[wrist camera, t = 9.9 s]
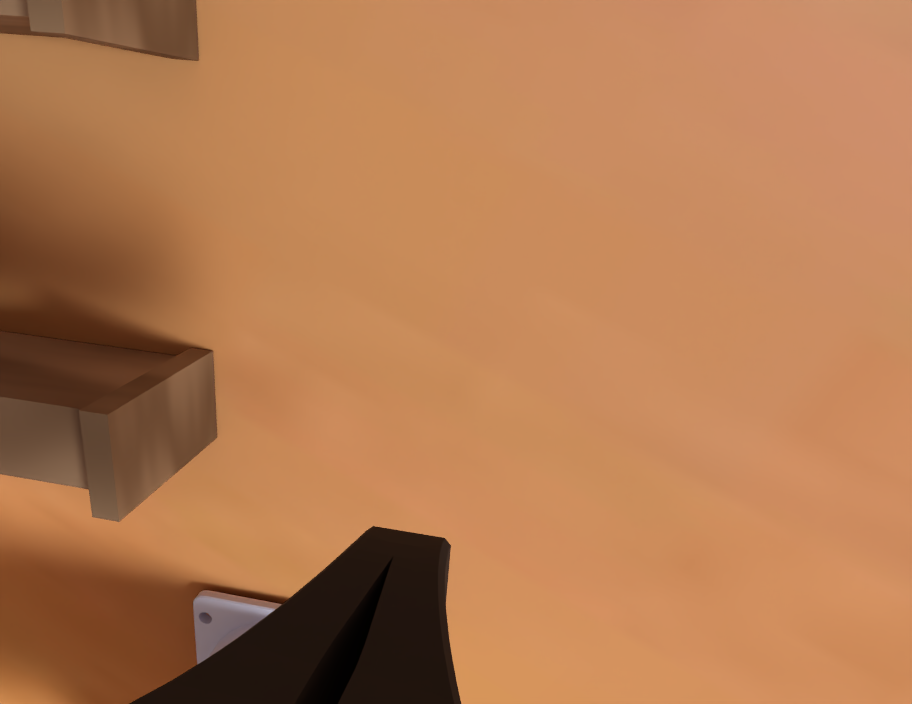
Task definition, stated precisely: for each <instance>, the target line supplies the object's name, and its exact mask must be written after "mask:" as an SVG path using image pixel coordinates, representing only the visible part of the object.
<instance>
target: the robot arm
mask: <svg viewBox="0 0 912 704" xmlns="http://www.w3.org/2000/svg"><path fill="white" fill-rule="evenodd" d="M450 548H451V545H450V544H449V543H448V541H447V540H446V539H445V538H441V537H435V536H429V535H423V534H417V533H411V532H405V531H399V530H393V529H387V528H381V527H375V526H373V527H371V528H370V529H368V530H367V531H366V532H365V533H364V534H362V535H361V536H360V537H359V538H358V539H357V540H356V541H355V542H354V543H353V544H352V545H351V546H349V547H348V548H347V549H346V550H345V551H344V552H343V553H342V554H341V555H340V556H338V557H337V558H336V559H335V560H334V561H333V562H332V563H331V564H329V565H328V566H327V567H326V568H325V569H324V570H323V571H322V572H320V573H319V574H318V575H317V576H316V577H314V578H313V579H312V580H311V581H310V582H308V583H307V584H306V585H305V586H304V587H303V588H301V589H300V590H299V591H298V592H297V593H295V594H294V595H293V596H292V597H291V598H289V599H288V600H287V601H286V602H284V603H283V604H278V603H273V602H268V601H263V600H257V599H252V598H247V597H241V596H236V595H231V594H226V593H220V592H215V591H210V590H204V591H201V592H200V593H199V594H198V595H197V597H196V598H195V599H194V601H193V612H194V626H195V641H196V655H197V665H196V666H194V667H193V668H191V669H190V670H188V671H186V672H185V673H183V674H182V675H180V676H178V677H177V678H175V679H173V680H172V681H170V682H168V683H166V684H165V685H163V686H161V687H159V688H157V689H155V690H154V691H152V692H150V693H148V694H146V695H144V696H143V697H141V698H139V699H137V700H135V701H133V702H132V703H130V704H461V701H460V696H459V692H458V687H457V682H456V677H455V671H454V666H453V661H452V655H451V648H450V642H449V634H448V624H447V615H446V594H447V582H448V571H449V559H450ZM206 613H208V614H209V615H210V616H209V615H207V614H206Z"/></svg>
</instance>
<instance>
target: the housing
mask: <svg viewBox="0 0 912 704" xmlns="http://www.w3.org/2000/svg"><path fill="white" fill-rule="evenodd" d="M0 33H7V34H20V35H34V36H48V37H62V38H69V39H74V40H79V41H84V42H89V43H94V44H99V45H104V46H110V47H115V48H120V49H125V50H130V51H135V52H140V53H145V54H151V55H156V56H161V57H166V58H171V59H182V60H195V61H199V54H198V34H197V13H196V0H0ZM216 438H217V423H216V402H215V382H214V361H213V351H210V350H203V349H196V348H189V349H187V350H186V351H184V352H182V353H180V354H179V355H177V356H176V355H168V354H161V353H154V352H147V351H140V350H133V349H125V348H118V347H111V346H104V345H97V344H89V343H82V342H75V341H68V340H61V339H54V338H46V337H39V336H32V335H25V334H18V333H11V332H3V331H0V474H3V475H9V476H14V477H20V478H26V479H32V480H38V481H44V482H49V483H55V484H61V485H67V486H73V487H79V488H84V489H89V494H90V502H91V510H92V517H95V518H101V519H106V520H112V521H117V522H120V521H121V520H122V519H123V518H124V517H125V516H127V515H128V514H129V513H130V512H131V511H132V510H134V509H135V508H136V507H137V506H138V505H139V504H141V503H142V502H143V501H144V500H145V499H146V498H147V497H149V496H150V495H151V494H152V493H153V492H154V491H156V490H157V489H158V488H159V487H160V486H161V485H163V484H164V483H165V482H166V481H167V480H168V479H170V478H171V477H172V476H173V475H174V474H175V473H177V472H178V471H179V470H180V469H181V468H182V467H184V466H185V465H186V464H187V463H188V462H189V461H191V460H192V459H193V458H194V457H195V456H196V455H198V454H199V453H200V452H201V451H202V450H203V449H205V448H206V447H207V446H208V445H209V444H210V443H211V442H213V441H214V440H215V439H216Z"/></svg>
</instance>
